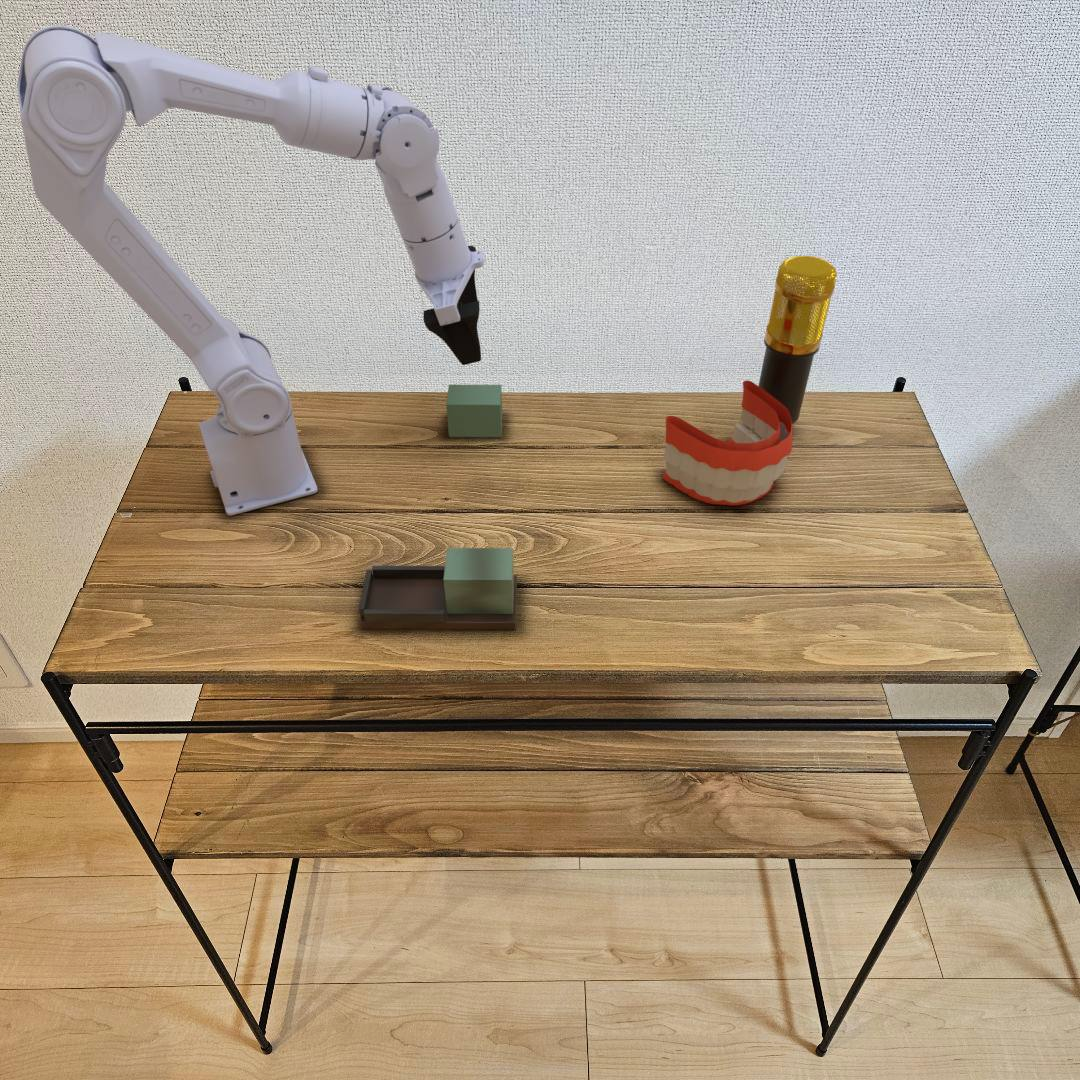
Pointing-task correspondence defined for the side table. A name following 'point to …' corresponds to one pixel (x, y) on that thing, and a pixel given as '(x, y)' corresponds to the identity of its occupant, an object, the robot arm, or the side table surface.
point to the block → (474, 410)
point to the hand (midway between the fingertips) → (470, 339)
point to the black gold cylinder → (796, 328)
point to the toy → (731, 453)
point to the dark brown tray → (444, 593)
